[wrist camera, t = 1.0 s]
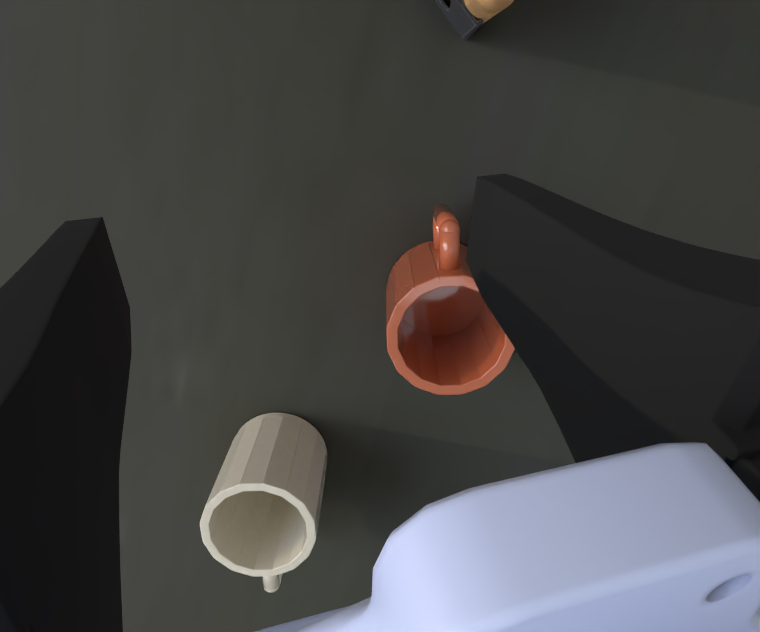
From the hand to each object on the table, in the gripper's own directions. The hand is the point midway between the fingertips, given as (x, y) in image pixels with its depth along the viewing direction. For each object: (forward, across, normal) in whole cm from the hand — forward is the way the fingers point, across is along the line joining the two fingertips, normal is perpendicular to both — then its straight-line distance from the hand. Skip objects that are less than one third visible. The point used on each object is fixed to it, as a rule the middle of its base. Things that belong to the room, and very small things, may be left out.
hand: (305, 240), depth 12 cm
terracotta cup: (+14, -9, +12) cm, 21 cm away
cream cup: (+13, 0, +24) cm, 27 cm away
